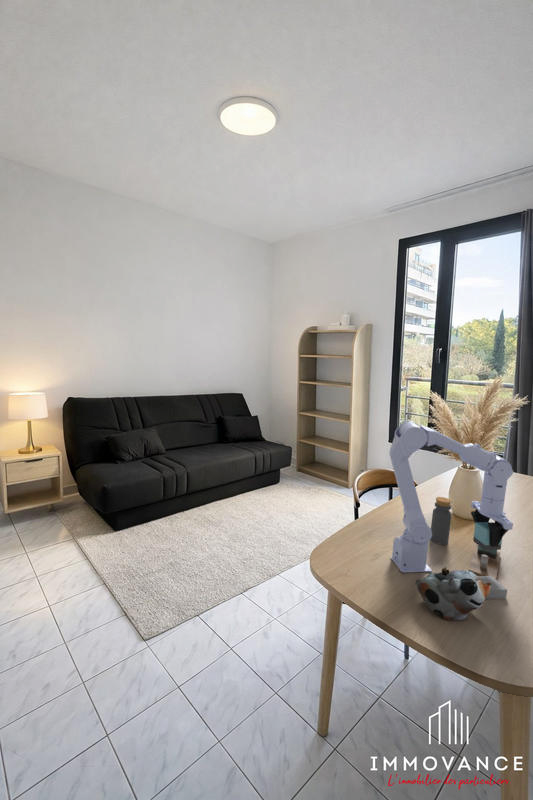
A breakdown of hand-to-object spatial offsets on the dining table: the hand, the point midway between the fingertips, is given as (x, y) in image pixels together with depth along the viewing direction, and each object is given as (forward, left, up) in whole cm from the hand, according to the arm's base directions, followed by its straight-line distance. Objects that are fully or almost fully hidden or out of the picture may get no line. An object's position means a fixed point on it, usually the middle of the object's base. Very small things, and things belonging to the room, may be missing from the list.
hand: (487, 540), depth 108 cm
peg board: (+4, +4, -10) cm, 12 cm away
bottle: (-2, +19, -11) cm, 22 cm away
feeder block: (-4, -8, -10) cm, 14 cm away
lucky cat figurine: (-19, -13, -11) cm, 25 cm away
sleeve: (0, 0, -1) cm, 1 cm away
